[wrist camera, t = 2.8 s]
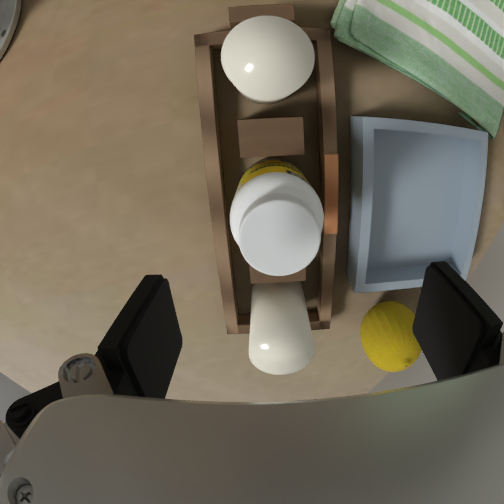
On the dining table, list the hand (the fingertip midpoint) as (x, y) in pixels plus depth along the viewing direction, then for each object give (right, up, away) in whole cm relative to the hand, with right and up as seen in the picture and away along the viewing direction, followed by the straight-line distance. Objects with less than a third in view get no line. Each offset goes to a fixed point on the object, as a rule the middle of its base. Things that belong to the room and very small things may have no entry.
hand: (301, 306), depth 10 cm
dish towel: (+16, +25, +4) cm, 30 cm away
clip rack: (0, +6, +13) cm, 15 cm away
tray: (+12, +6, +13) cm, 19 cm away
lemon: (+11, -4, +18) cm, 21 cm away
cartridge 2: (+1, -2, +17) cm, 17 cm away
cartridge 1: (-1, +15, +9) cm, 17 cm away
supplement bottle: (0, +7, +13) cm, 15 cm away
